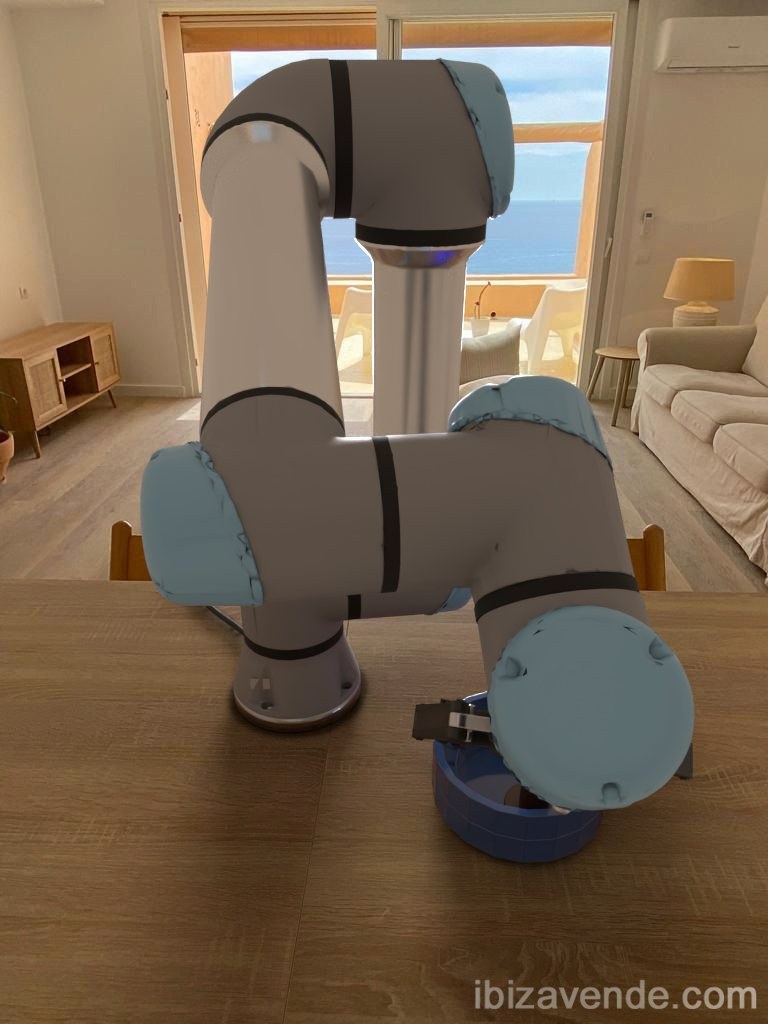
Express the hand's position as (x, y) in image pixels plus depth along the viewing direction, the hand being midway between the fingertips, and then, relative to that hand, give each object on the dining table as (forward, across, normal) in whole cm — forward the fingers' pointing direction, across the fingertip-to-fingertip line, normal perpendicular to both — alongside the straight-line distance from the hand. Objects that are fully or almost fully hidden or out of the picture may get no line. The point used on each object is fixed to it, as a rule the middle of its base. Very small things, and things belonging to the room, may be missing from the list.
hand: (542, 744), depth 59 cm
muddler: (+10, 0, -6) cm, 12 cm away
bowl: (+13, -2, -5) cm, 14 cm away
